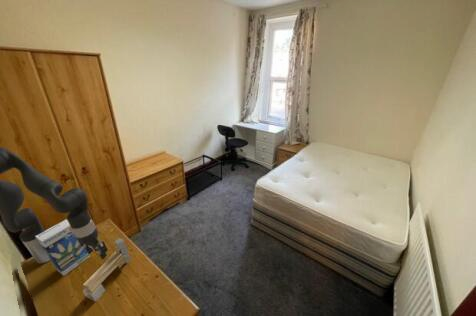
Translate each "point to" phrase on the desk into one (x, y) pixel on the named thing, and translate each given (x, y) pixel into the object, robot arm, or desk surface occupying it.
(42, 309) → the desk surface
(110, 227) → the desk surface
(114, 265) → the pine rail
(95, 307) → the desk surface
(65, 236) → the string lights box
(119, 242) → the bracket stand
